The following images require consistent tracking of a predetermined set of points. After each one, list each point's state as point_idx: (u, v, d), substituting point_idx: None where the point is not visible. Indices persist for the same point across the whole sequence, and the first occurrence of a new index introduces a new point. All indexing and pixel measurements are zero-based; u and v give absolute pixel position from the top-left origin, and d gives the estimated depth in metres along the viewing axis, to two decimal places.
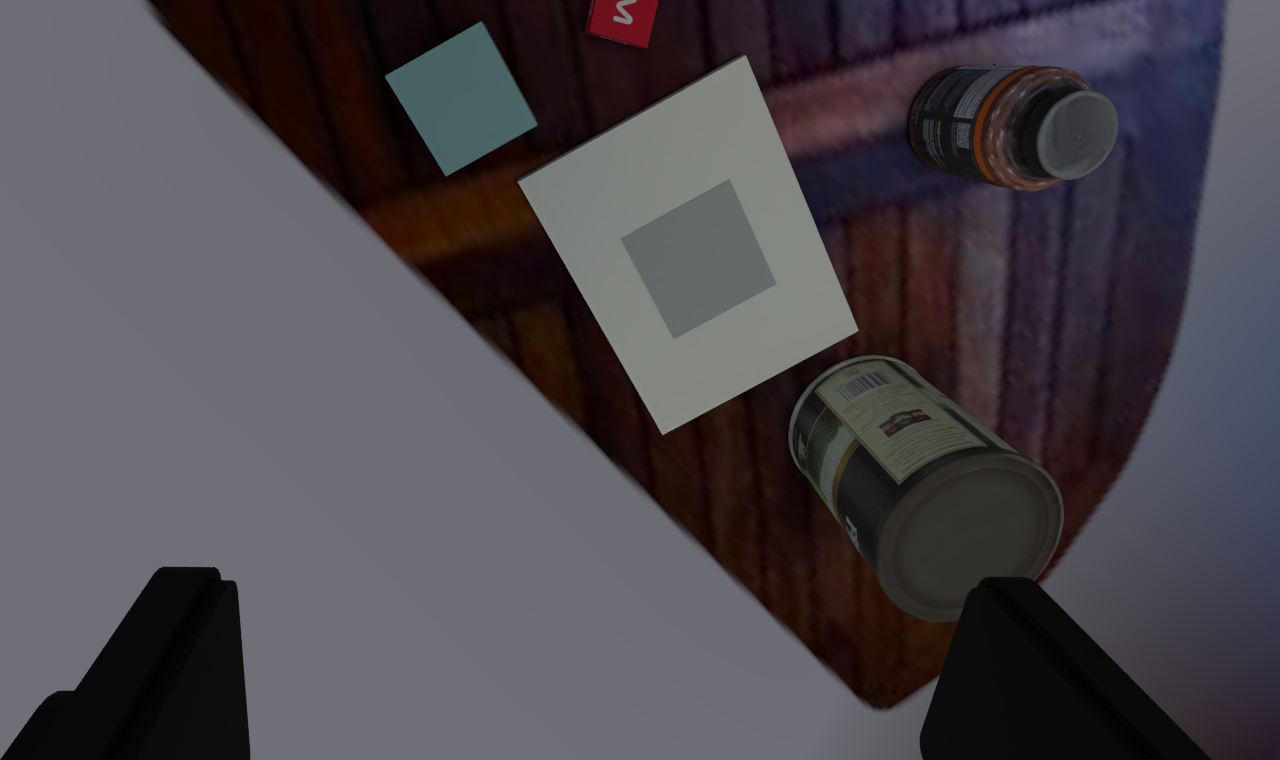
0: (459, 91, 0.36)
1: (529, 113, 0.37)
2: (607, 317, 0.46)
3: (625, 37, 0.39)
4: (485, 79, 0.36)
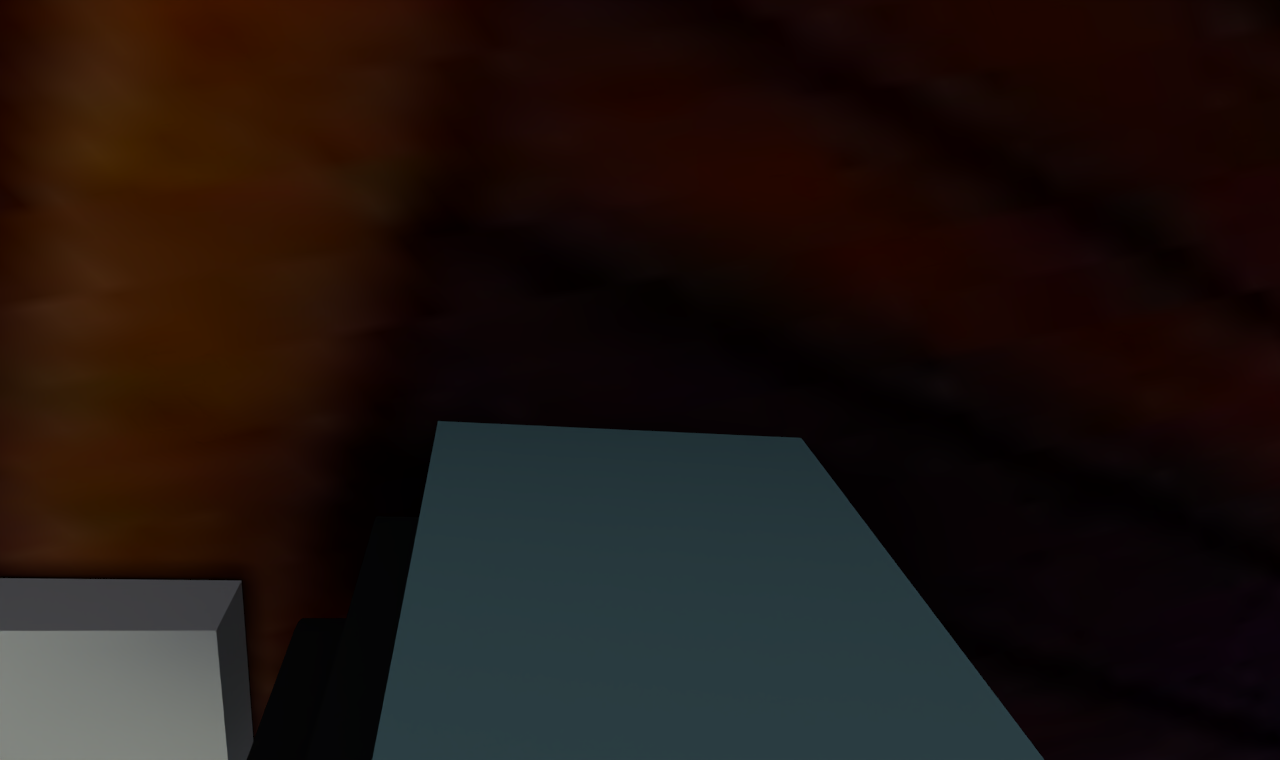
0: None
1: None
2: None
3: None
4: None
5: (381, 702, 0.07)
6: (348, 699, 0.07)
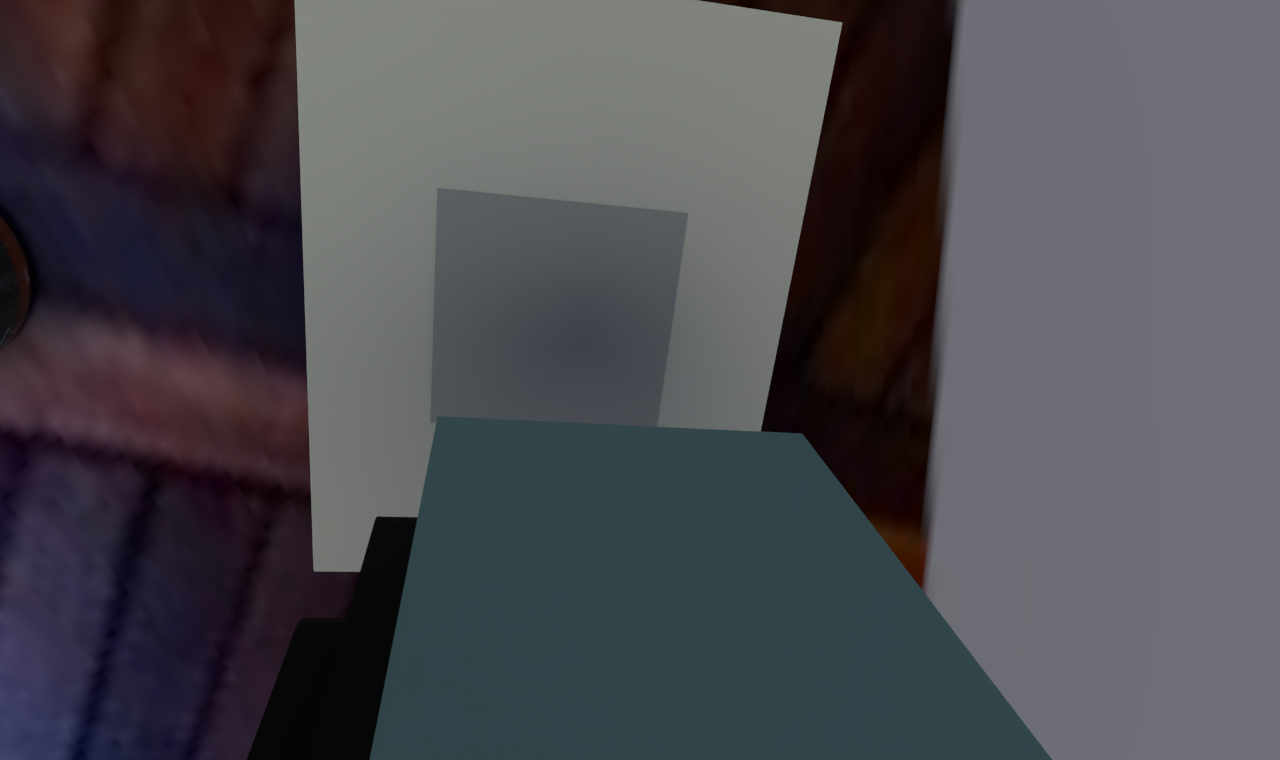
0: None
1: None
2: (762, 326, 0.24)
3: None
4: None
5: None
6: (348, 699, 0.07)
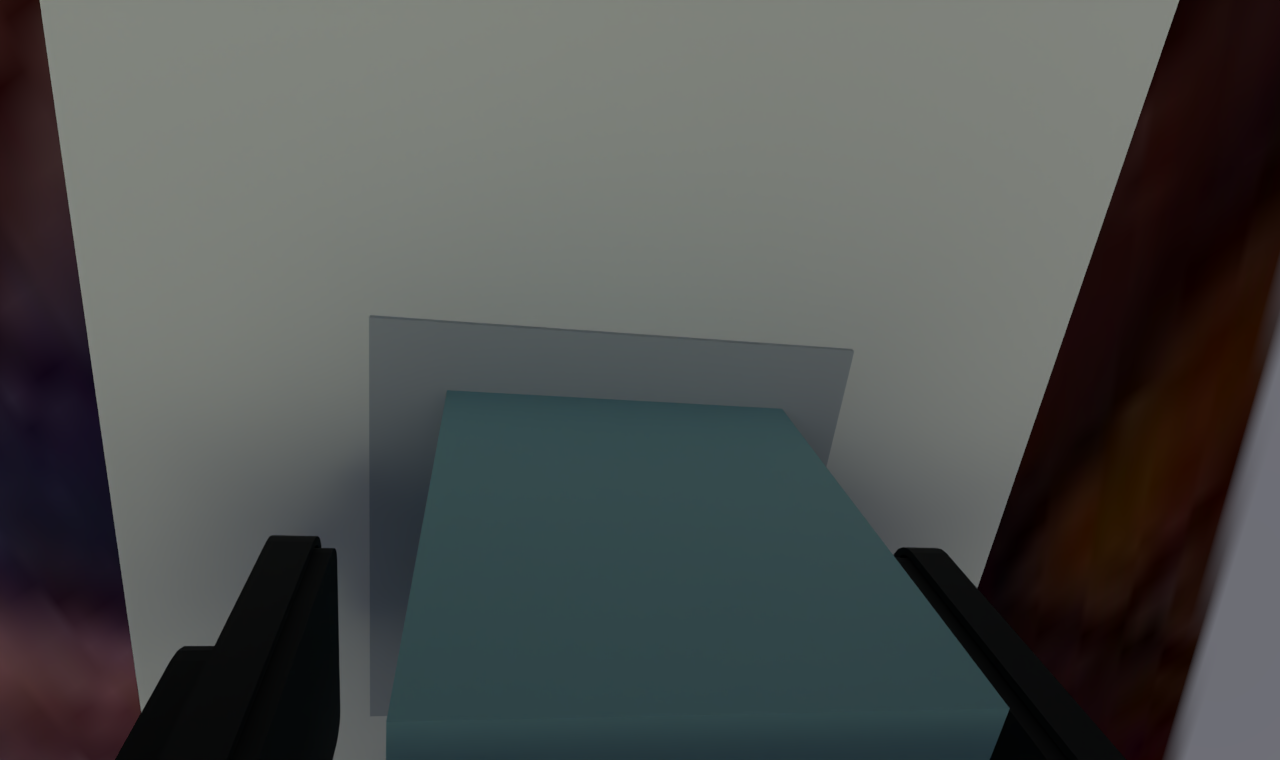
0: None
1: None
2: (963, 533, 0.14)
3: None
4: None
5: (232, 747, 0.06)
6: (194, 744, 0.06)
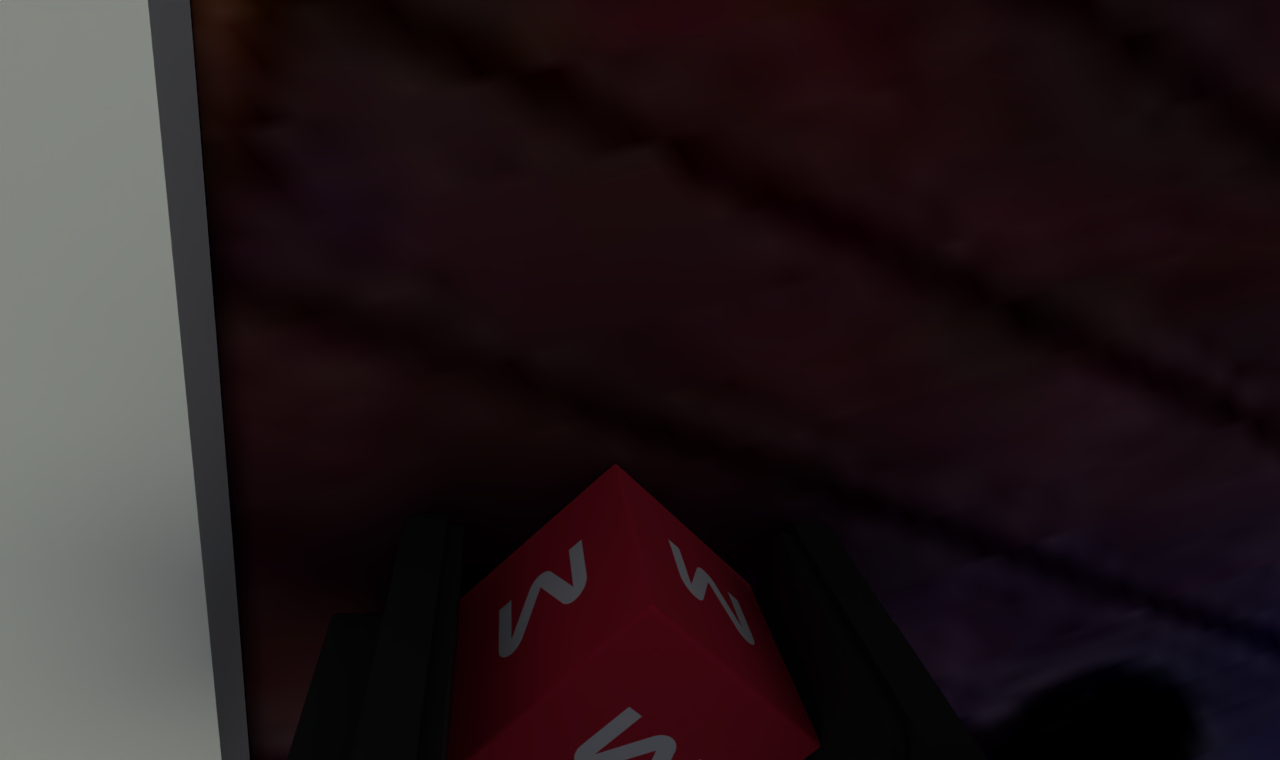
0: None
1: None
2: None
3: (534, 723, 0.08)
4: None
5: (423, 693, 0.07)
6: (391, 691, 0.07)
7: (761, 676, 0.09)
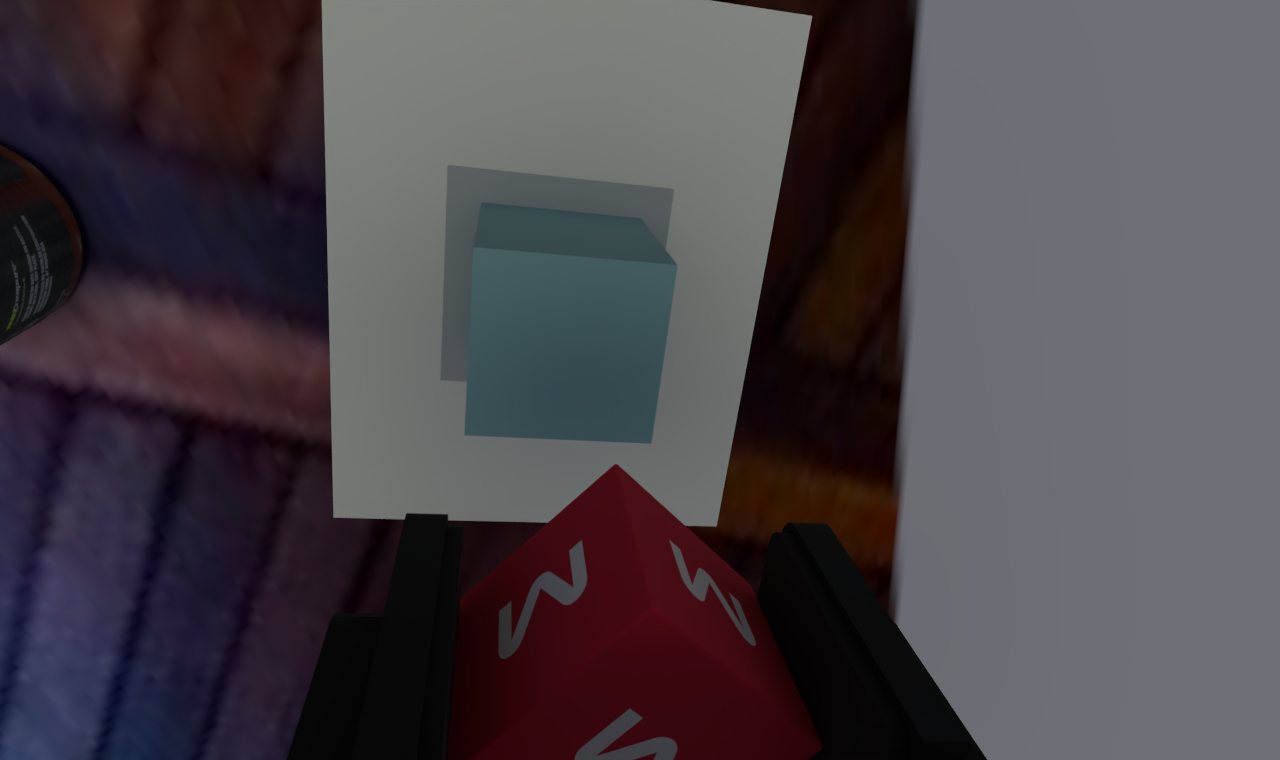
0: (584, 355, 0.20)
1: (488, 433, 0.21)
2: (742, 293, 0.27)
3: (534, 725, 0.08)
4: (576, 402, 0.21)
5: (423, 693, 0.07)
6: (391, 691, 0.07)
7: (762, 677, 0.09)
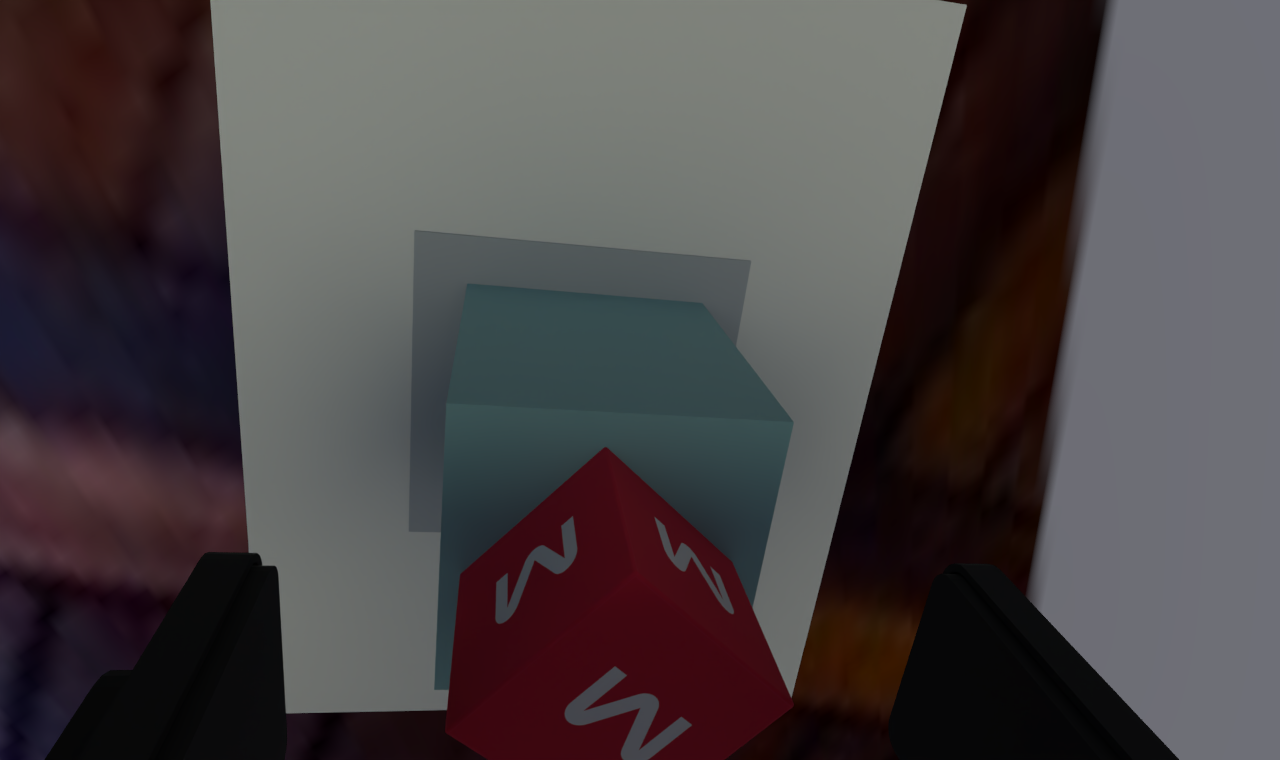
0: None
1: None
2: (841, 403, 0.19)
3: (527, 679, 0.09)
4: None
5: None
6: None
7: (737, 641, 0.10)
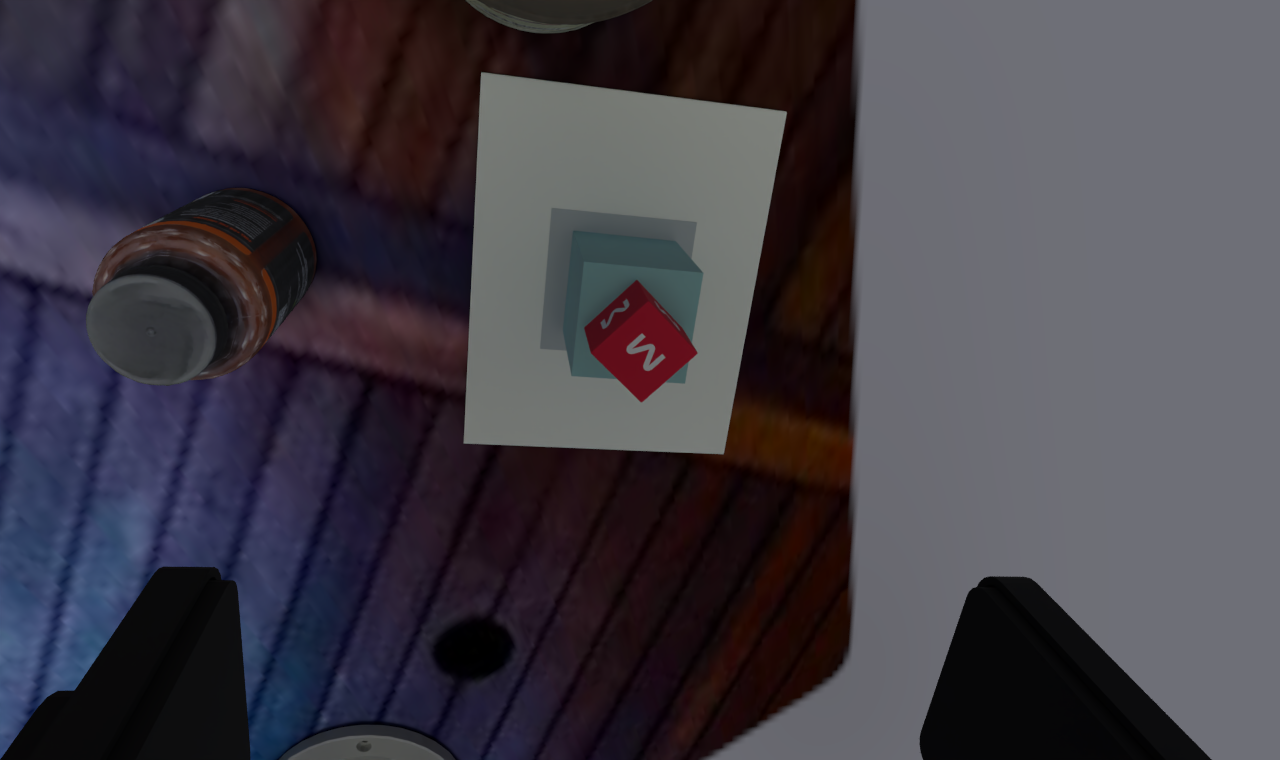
0: None
1: (586, 375, 0.34)
2: (741, 290, 0.40)
3: (616, 335, 0.30)
4: None
5: None
6: None
7: (680, 332, 0.31)
